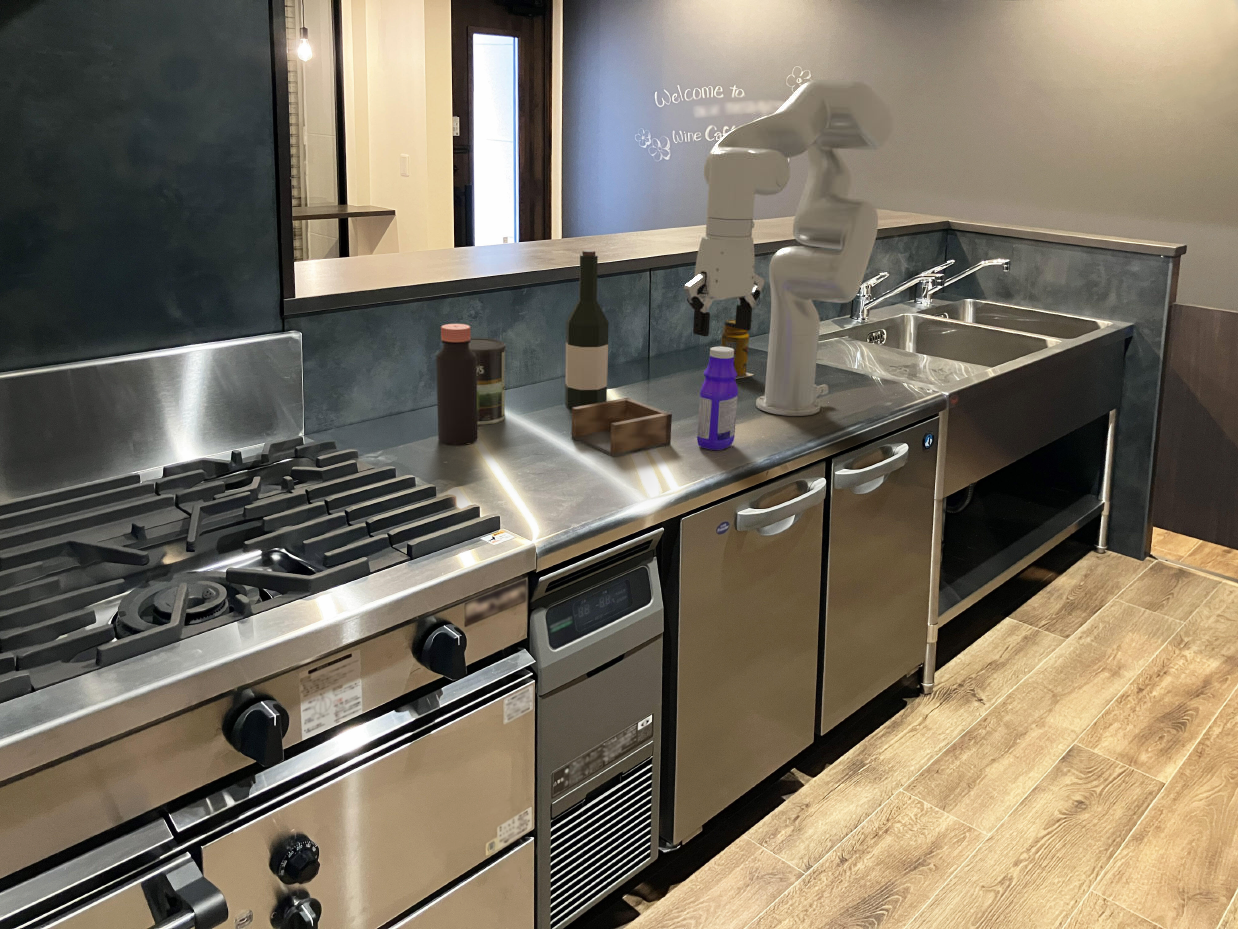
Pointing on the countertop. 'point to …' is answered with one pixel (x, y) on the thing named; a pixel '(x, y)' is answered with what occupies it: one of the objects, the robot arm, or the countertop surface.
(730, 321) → the condiment
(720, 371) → the bottle
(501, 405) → the coffee can
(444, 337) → the vinegar
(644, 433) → the u rest
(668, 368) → the countertop surface
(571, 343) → the wine bottle
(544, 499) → the countertop surface
